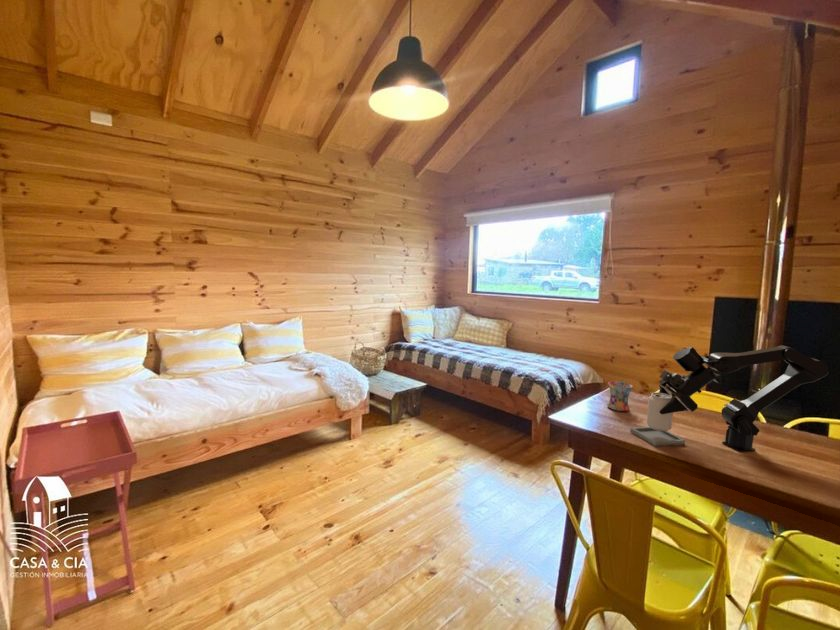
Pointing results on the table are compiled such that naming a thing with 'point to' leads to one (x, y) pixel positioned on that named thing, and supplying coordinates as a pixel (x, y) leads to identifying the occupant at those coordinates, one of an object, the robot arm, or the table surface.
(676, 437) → the slate dish
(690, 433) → the table surface
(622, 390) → the mug
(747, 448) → the robot arm
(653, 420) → the can
